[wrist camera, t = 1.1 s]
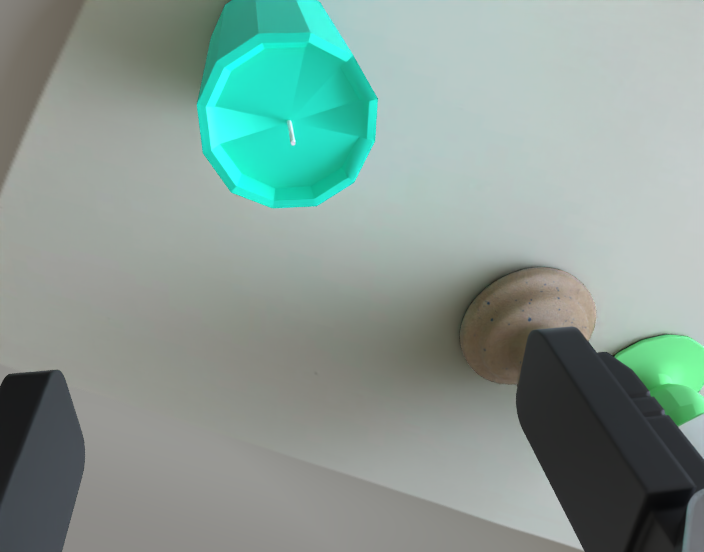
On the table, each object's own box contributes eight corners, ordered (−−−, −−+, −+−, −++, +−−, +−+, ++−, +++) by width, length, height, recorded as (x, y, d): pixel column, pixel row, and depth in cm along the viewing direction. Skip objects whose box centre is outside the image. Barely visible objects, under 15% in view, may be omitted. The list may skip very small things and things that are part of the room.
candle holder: (571, 371, 43) (783, 689, 26) (449, 378, 42) (590, 718, 25) (605, 262, 39) (890, 563, 22) (469, 266, 37) (659, 590, 20)
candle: (281, 140, 31) (299, 261, 21) (183, 55, 29) (150, 150, 18) (365, 49, 30) (428, 136, 20) (269, -50, 27) (285, -8, 17)
